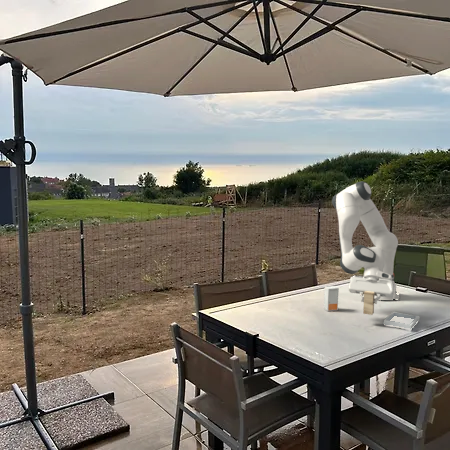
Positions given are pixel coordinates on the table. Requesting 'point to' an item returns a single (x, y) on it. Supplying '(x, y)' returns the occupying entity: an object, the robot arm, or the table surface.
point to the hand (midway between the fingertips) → (368, 302)
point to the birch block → (368, 303)
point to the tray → (388, 322)
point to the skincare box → (331, 298)
